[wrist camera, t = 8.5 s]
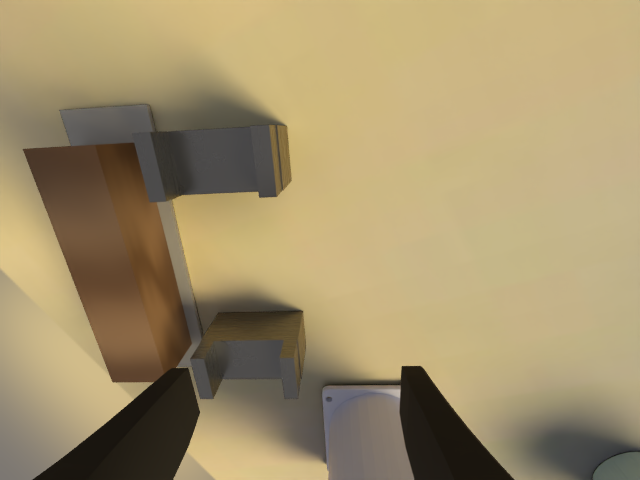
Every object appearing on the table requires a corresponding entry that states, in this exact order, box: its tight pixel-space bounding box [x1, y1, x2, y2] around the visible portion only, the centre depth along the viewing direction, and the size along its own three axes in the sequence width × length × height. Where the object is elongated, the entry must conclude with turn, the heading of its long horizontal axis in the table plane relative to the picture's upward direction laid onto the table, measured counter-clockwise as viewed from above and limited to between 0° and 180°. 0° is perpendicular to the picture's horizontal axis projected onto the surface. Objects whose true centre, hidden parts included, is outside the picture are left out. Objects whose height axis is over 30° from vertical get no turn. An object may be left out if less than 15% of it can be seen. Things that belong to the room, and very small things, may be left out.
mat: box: [59, 104, 203, 367], centre depth 19 cm, size 18×5×1 cm, turn 3°
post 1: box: [132, 125, 292, 202], centre depth 15 cm, size 3×6×4 cm, turn 93°
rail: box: [23, 142, 192, 382], centre depth 18 cm, size 14×4×4 cm, turn 3°
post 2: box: [190, 311, 306, 399], centre depth 19 cm, size 3×6×4 cm, turn 93°
